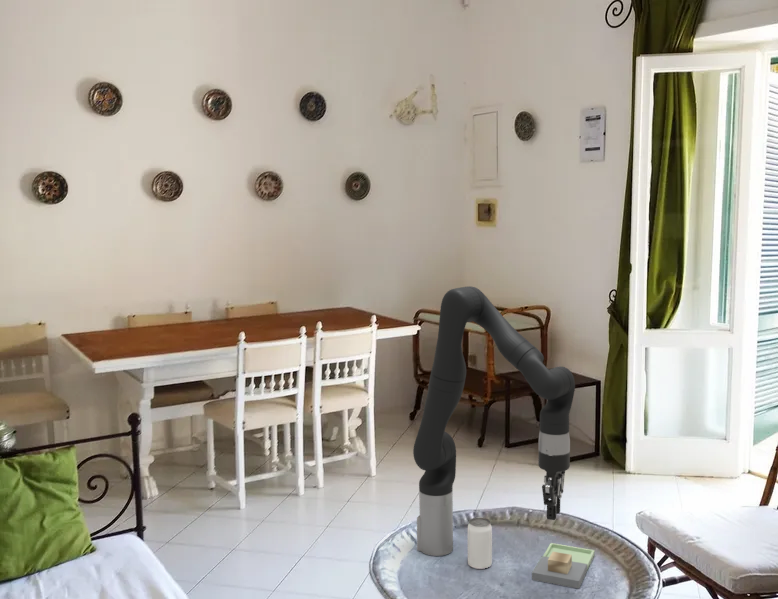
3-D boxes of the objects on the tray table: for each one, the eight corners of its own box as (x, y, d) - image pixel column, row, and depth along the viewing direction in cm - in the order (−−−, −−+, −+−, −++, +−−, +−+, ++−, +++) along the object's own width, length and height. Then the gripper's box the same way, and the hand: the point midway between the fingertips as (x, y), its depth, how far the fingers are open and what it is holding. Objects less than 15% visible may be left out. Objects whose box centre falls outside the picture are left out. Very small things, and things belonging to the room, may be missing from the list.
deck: (531, 579, 209) (531, 572, 209) (541, 563, 218) (541, 556, 218) (578, 588, 204) (579, 581, 204) (587, 571, 213) (587, 564, 213)
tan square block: (547, 570, 210) (547, 559, 209) (552, 562, 214) (552, 551, 214) (567, 574, 208) (567, 563, 207) (571, 565, 212) (571, 554, 212)
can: (491, 570, 214) (490, 527, 213) (466, 569, 216) (466, 525, 214) (492, 559, 221) (492, 517, 219) (468, 558, 222) (468, 515, 220)
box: (542, 562, 218) (542, 557, 218) (550, 547, 227) (550, 542, 227) (587, 570, 213) (587, 565, 213) (594, 555, 222) (594, 550, 222)
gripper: (546, 438, 207) (545, 503, 210) (531, 455, 194) (531, 524, 197) (575, 442, 204) (574, 507, 206) (562, 459, 191) (562, 529, 194)
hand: (553, 515), depth 202 cm, fingers open, 3 cm apart
